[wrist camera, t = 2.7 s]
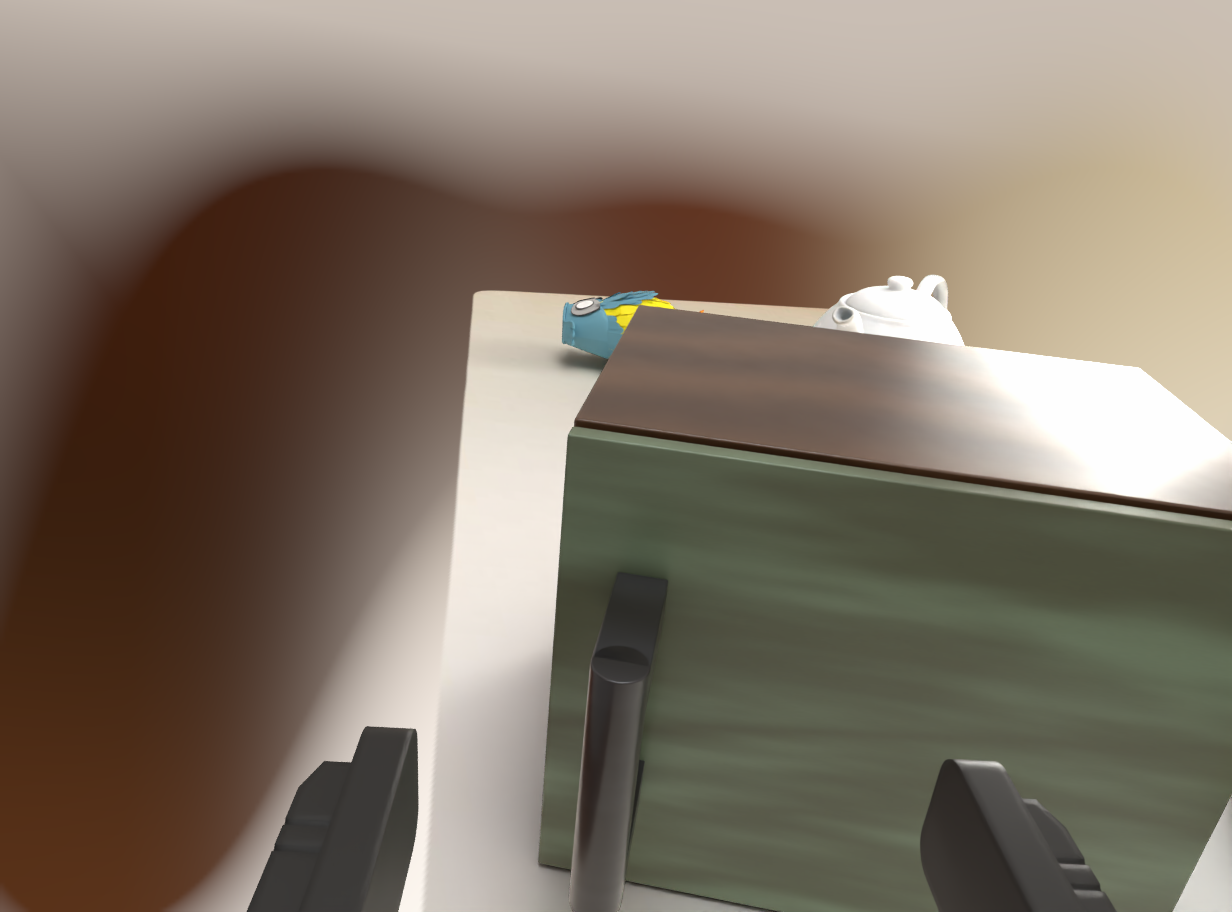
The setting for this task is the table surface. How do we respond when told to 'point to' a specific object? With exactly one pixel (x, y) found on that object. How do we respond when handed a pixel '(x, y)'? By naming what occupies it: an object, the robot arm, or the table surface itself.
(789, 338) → the cupboard
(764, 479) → the cupboard door
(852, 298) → the teapot
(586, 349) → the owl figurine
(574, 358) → the table surface
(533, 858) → the table surface
